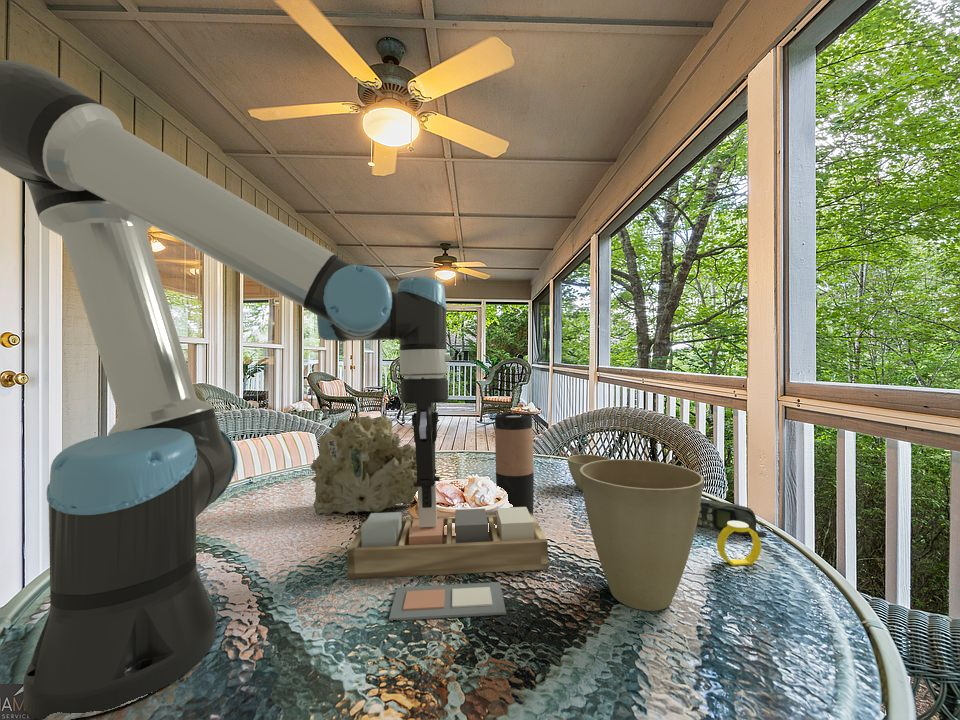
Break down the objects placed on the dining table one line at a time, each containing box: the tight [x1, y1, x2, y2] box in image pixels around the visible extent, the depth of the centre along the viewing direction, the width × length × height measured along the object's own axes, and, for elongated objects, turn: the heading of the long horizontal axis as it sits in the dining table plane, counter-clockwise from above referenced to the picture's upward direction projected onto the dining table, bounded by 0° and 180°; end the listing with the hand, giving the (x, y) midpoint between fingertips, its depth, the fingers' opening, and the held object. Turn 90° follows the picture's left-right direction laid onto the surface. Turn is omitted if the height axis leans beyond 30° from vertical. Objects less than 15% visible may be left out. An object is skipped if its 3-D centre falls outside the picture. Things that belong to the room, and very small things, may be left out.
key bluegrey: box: [361, 511, 402, 547], centre depth 66 cm, size 7×5×3 cm
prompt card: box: [388, 581, 507, 622], centre depth 54 cm, size 7×14×1 cm, turn 93°
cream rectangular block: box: [496, 507, 534, 541], centre depth 67 cm, size 7×5×3 cm
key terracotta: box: [409, 518, 444, 545], centre depth 66 cm, size 7×5×3 cm
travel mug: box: [494, 412, 535, 514], centre depth 84 cm, size 8×8×20 cm
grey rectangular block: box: [454, 508, 489, 543], centre depth 67 cm, size 7×5×3 cm
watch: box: [716, 521, 762, 567], centre depth 62 cm, size 6×3×6 cm, turn 94°
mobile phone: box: [696, 498, 768, 537], centre depth 75 cm, size 5×3×15 cm
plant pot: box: [580, 458, 705, 612], centre depth 54 cm, size 15×15×16 cm
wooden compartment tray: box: [346, 512, 549, 580], centre depth 67 cm, size 12×29×4 cm, turn 93°
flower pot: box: [566, 454, 611, 491], centre depth 100 cm, size 10×10×7 cm
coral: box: [309, 414, 418, 515], centre depth 89 cm, size 25×10×20 cm, turn 87°
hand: (428, 525), depth 66 cm, fingers closed
